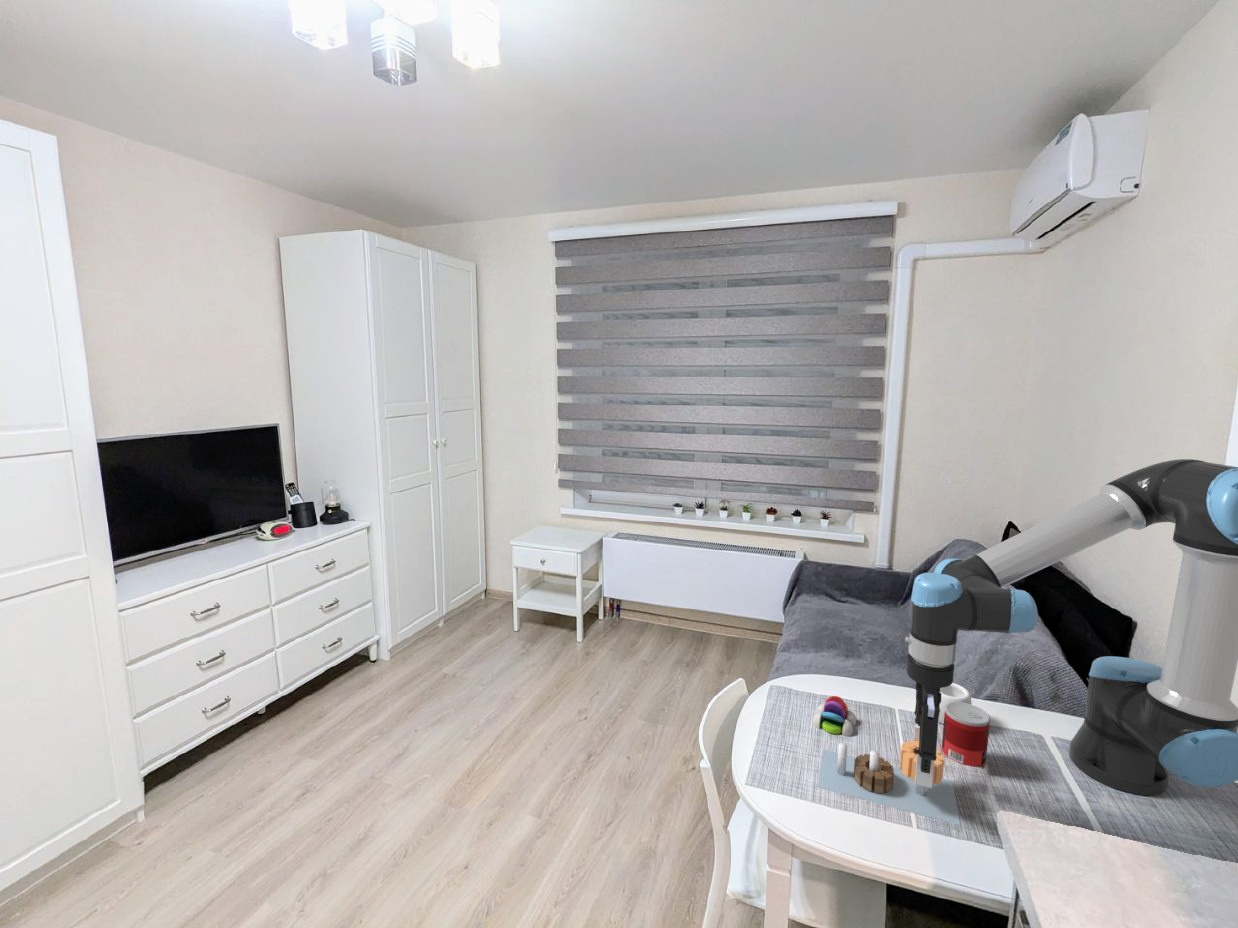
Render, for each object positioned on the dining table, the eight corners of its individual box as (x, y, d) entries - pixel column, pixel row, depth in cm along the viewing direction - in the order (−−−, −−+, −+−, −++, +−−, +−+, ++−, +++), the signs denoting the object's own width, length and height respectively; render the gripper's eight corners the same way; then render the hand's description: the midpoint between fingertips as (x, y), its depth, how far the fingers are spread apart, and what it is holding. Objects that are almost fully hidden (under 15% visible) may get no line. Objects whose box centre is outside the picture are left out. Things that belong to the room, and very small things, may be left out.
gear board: (952, 787, 112) (955, 753, 110) (959, 832, 101) (963, 795, 100) (822, 755, 121) (824, 723, 120) (817, 793, 111) (818, 758, 109)
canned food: (991, 775, 115) (996, 725, 113) (948, 770, 117) (952, 721, 115) (976, 750, 122) (981, 703, 121) (935, 746, 124) (939, 699, 122)
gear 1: (892, 772, 114) (893, 759, 113) (893, 797, 107) (894, 783, 107) (854, 763, 116) (855, 750, 116) (853, 786, 110) (853, 772, 110)
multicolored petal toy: (857, 723, 132) (859, 694, 131) (849, 746, 124) (851, 716, 123) (820, 712, 137) (821, 684, 136) (809, 734, 129) (811, 704, 128)
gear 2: (939, 764, 110) (941, 746, 109) (943, 789, 103) (945, 770, 103) (899, 755, 112) (901, 736, 112) (900, 778, 106) (902, 759, 105)
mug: (977, 731, 129) (980, 699, 127) (940, 731, 129) (942, 699, 127) (947, 700, 141) (950, 671, 139) (913, 701, 141) (915, 671, 139)
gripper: (905, 631, 115) (898, 734, 118) (910, 681, 96) (901, 801, 100) (948, 638, 111) (939, 744, 115) (961, 690, 93) (950, 814, 97)
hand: (921, 770), depth 108 cm, fingers closed on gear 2, 7 cm apart
